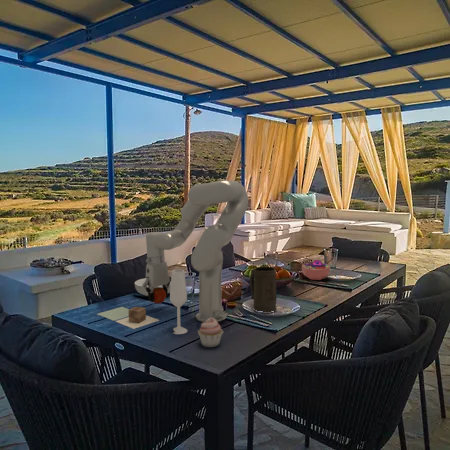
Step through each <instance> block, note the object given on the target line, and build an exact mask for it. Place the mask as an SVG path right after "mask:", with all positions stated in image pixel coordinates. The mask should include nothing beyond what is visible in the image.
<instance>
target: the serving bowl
mask: <svg viewBox="0 0 450 450" xmlns="http://www.w3.org/2000/svg"><path fill="white" fill-rule="evenodd" d="M145 280H146V277H145V278H140V279H137V280H136V281H134V287H135V290H136V291H137V292H138V293H139V294H141V295H143V296H146V297H148V292H147V291H146V290H145V289H144V288H143V287H142V285H143V283H144V282H145ZM147 287H148V286H147ZM168 287H169V288H168V289H167V290H168V294H170V290H171V282H170V285H169V286H168ZM154 288H157V287H154ZM158 288H163V287H162V285H161V286H158ZM150 289H151V288H150Z"/></svg>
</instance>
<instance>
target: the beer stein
mask: <svg viewBox="0 0 450 450" xmlns="http://www.w3.org/2000/svg"><path fill="white" fill-rule="evenodd" d="M250 271H251V272H250V273H251V274H250V277H249V287H250V290H251V297H250V300H253V306H252V309H253V308H254V309H255V310H257V311H263V312H271V311H275V312H276V311H277V306H276V305H277V281H276V280H277V279H276V275H277V274H276V273H277V272H276V268H274V267H271V266H270V267H269V266H259V267H256V268H253V269H252V268H251V270H250Z"/></svg>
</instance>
